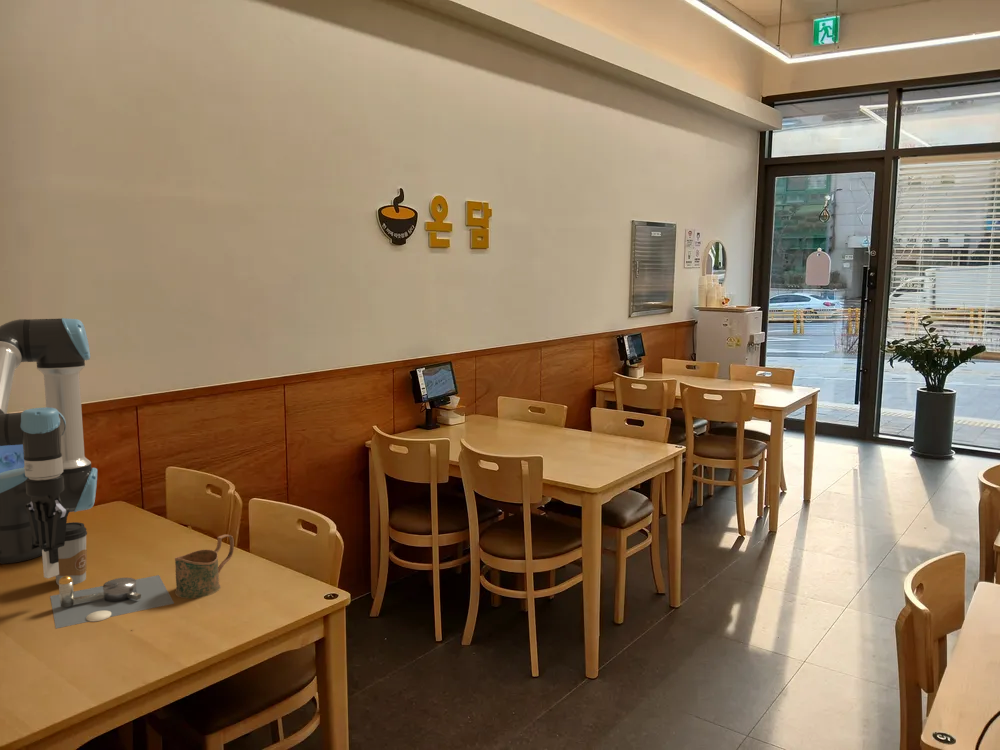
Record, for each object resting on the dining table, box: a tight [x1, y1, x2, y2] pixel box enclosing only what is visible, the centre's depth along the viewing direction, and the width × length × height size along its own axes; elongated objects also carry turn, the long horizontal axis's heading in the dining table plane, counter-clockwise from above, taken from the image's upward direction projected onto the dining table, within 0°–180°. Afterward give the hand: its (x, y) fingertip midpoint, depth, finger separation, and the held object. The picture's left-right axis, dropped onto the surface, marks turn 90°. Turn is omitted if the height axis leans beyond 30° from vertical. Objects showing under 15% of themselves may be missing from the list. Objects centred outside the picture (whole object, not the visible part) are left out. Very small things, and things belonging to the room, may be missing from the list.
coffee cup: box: [55, 522, 88, 586], centre depth 193 cm, size 8×8×15 cm
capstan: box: [58, 576, 141, 607], centre depth 181 cm, size 16×12×7 cm
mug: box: [174, 534, 235, 599], centre depth 191 cm, size 12×18×12 cm, turn 155°
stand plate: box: [49, 574, 175, 629], centre depth 182 cm, size 21×24×2 cm
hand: (51, 575), depth 179 cm, fingers closed
